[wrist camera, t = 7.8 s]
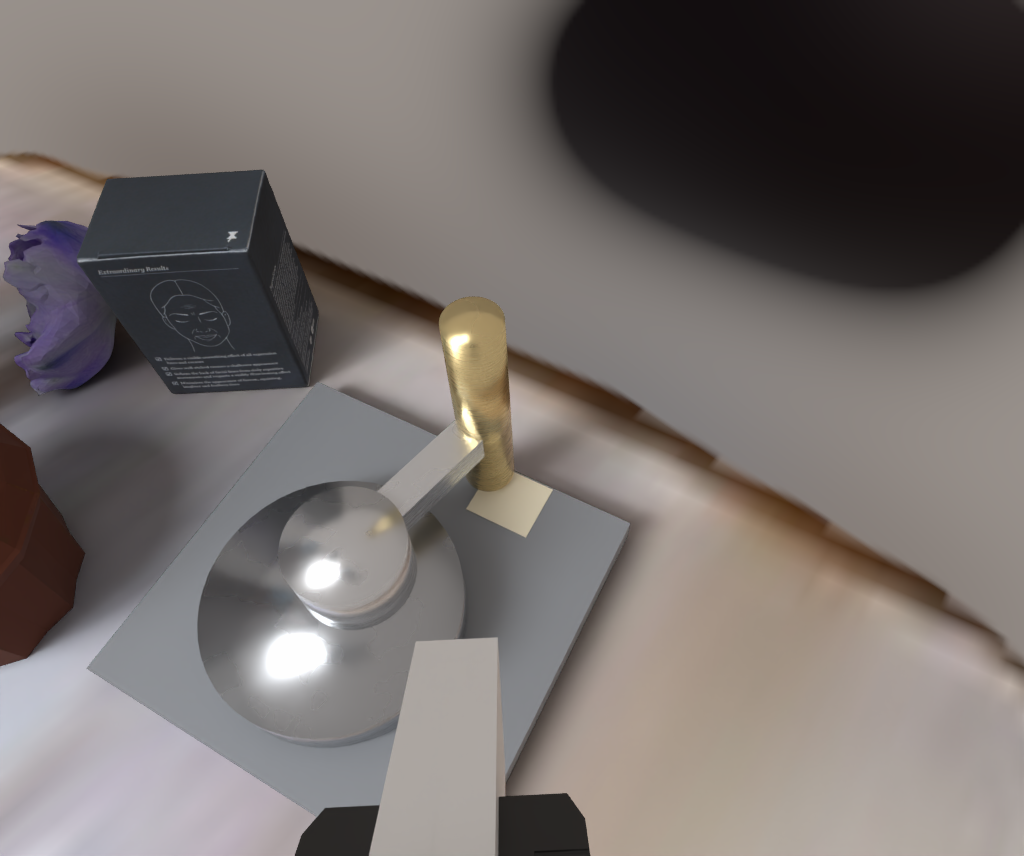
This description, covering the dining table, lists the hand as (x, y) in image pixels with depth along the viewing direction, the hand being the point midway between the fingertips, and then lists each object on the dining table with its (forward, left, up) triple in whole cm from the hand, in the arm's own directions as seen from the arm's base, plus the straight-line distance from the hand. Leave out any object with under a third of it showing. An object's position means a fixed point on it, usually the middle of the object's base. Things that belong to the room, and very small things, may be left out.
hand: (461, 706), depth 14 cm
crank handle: (-9, +6, -18) cm, 21 cm away
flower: (-32, +12, -20) cm, 40 cm away
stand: (-10, +5, -20) cm, 23 cm away
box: (-24, +14, -20) cm, 35 cm away
